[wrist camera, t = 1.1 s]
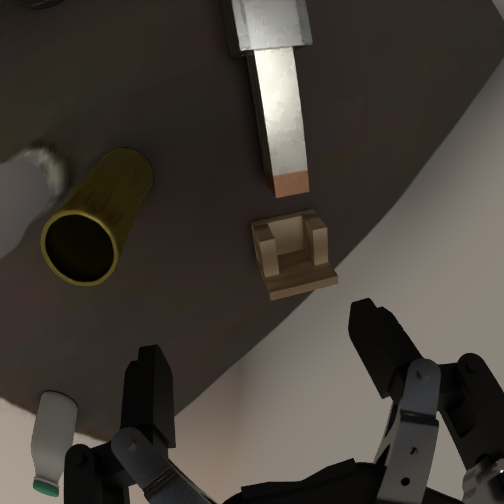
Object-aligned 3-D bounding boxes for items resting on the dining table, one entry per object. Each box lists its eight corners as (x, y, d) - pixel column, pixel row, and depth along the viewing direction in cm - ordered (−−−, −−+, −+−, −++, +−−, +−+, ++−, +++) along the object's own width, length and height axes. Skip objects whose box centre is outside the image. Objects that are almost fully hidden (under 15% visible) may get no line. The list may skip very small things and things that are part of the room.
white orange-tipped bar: (229, -34, 18) (235, -50, 14) (262, -36, 18) (273, -52, 14) (266, 183, 29) (276, 198, 26) (295, 177, 30) (309, 191, 26)
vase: (164, 165, 28) (142, 232, 16) (136, 215, 30) (106, 306, 18) (111, 136, 26) (48, 184, 14) (86, 190, 28) (26, 267, 16)
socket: (250, 221, 33) (263, 256, 27) (312, 208, 33) (338, 239, 27) (257, 261, 36) (270, 300, 30) (314, 248, 36) (337, 283, 30)
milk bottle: (43, 384, 42) (23, 481, 25) (81, 400, 45) (69, 497, 28) (40, 401, 44) (24, 488, 27) (75, 415, 48) (65, 502, 31)
